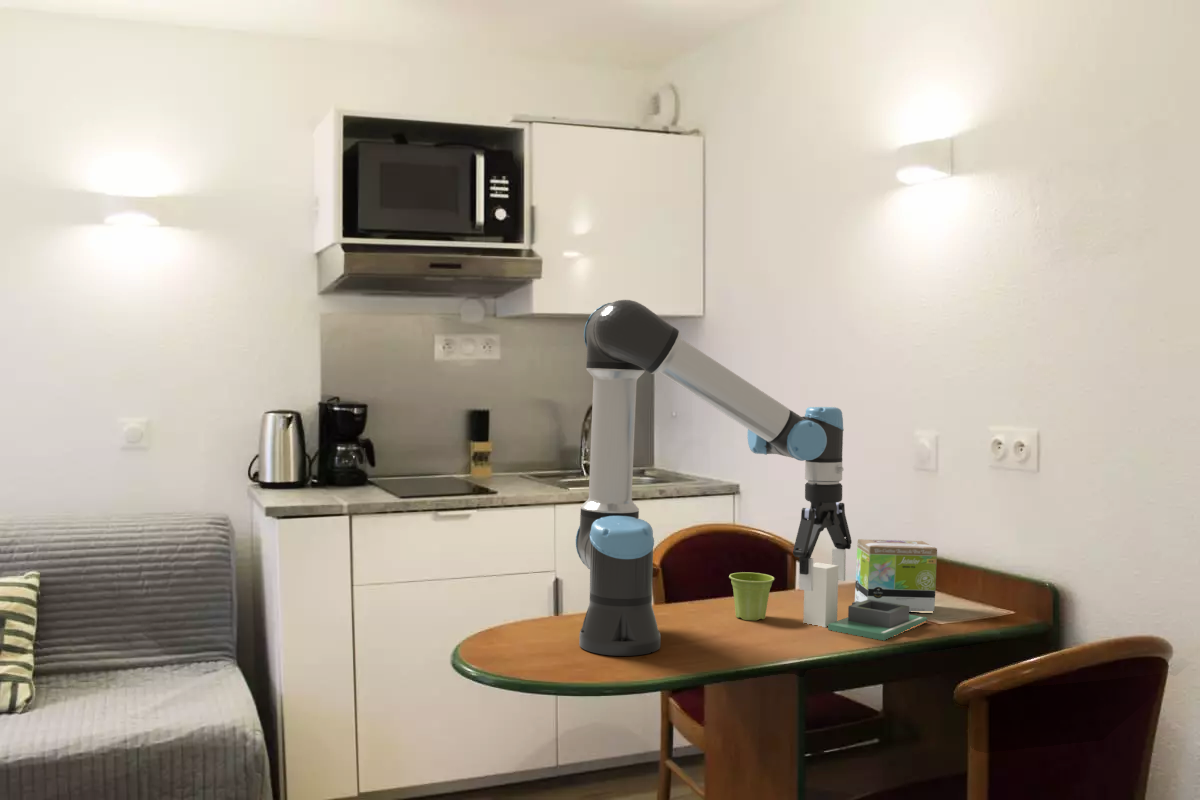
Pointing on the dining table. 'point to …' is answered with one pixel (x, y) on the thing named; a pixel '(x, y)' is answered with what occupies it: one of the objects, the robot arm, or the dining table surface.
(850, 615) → the board
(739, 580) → the plant pot
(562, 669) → the dining table surface
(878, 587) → the tea box
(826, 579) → the plug
